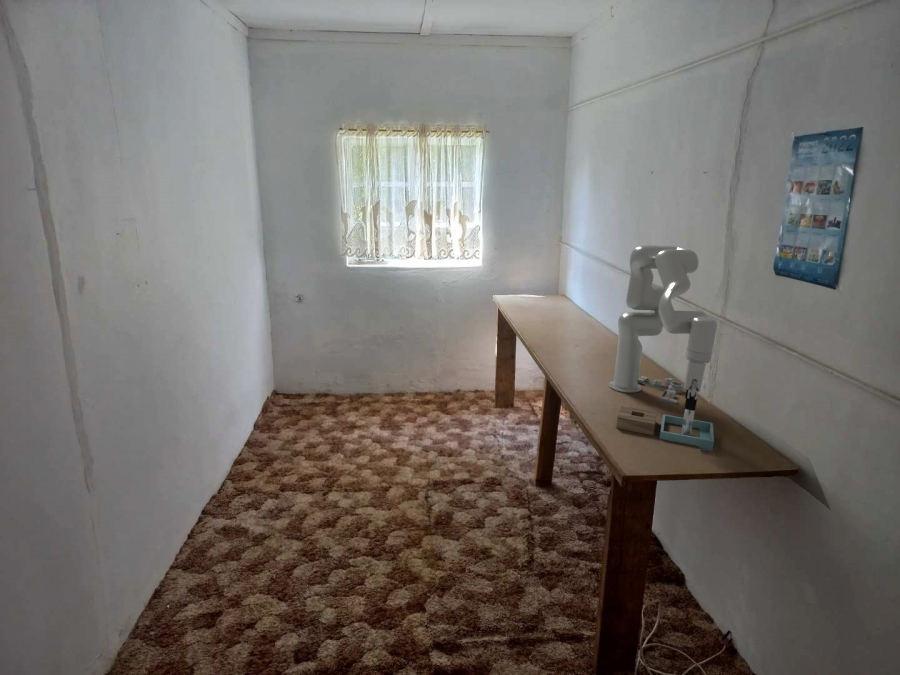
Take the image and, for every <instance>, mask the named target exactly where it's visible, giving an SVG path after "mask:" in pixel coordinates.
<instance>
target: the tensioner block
mask: <svg viewBox="0 0 900 675" xmlns="http://www.w3.org/2000/svg"><path fill="white" fill-rule="evenodd" d="M657 416H658V411H657V410H653V409H648V408H647V409H646V408H643V407H641V408H640V407H637V406H636V407H635V406H629V405H624V404H621V406H620V409H619V412H618V415H617V419H616V426H615V428H616V429H619V430H625V431H631V432H635V433H640V434H646V435H650V436H655V435H654V434H655V429H656V424H657V423H656V422H657Z"/></svg>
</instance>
